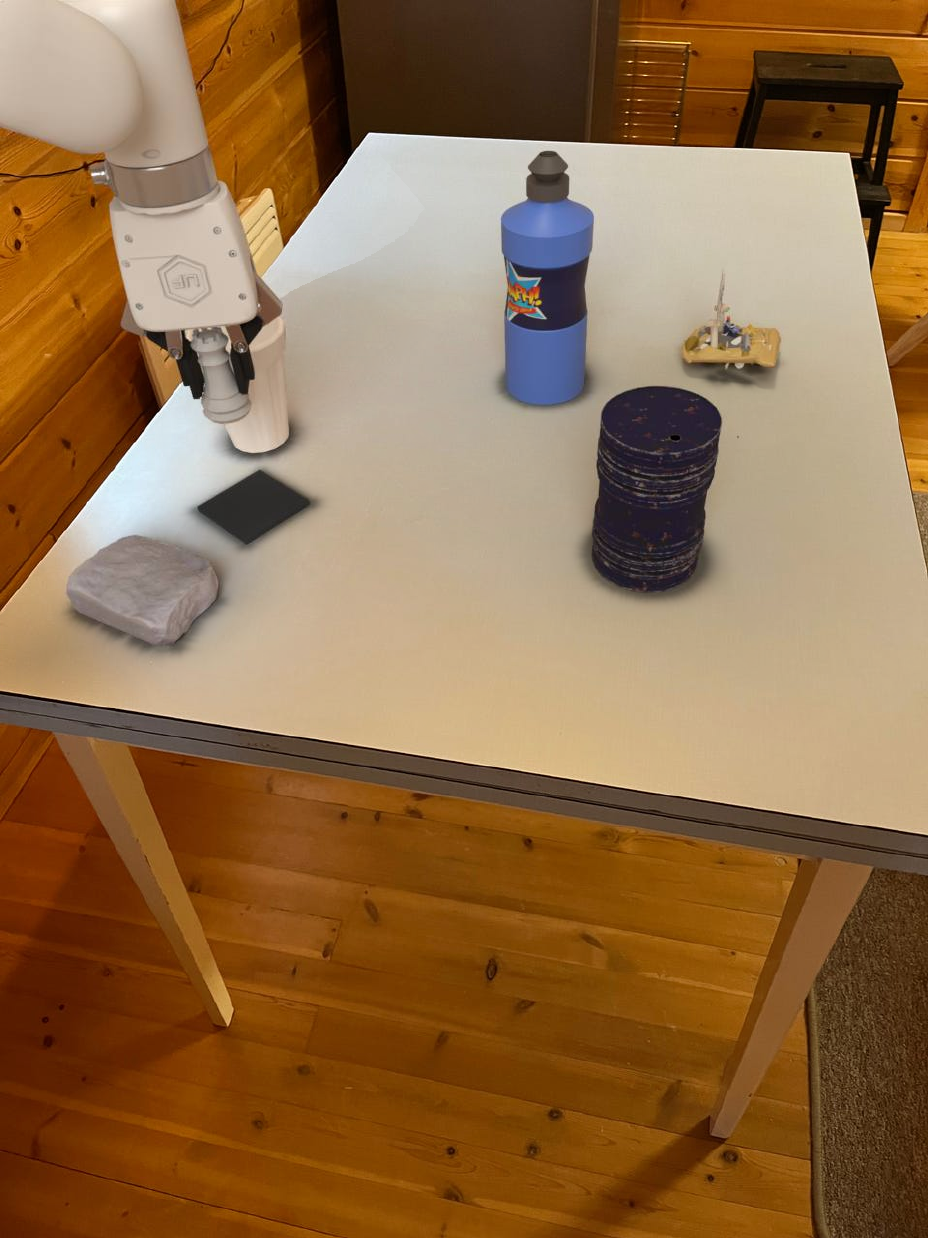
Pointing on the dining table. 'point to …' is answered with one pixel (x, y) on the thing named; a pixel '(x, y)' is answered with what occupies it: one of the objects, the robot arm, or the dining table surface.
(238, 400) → the rook chess piece
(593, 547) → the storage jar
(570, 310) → the water bottle
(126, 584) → the stone block
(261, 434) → the cup
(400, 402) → the dining table surface
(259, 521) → the mat
